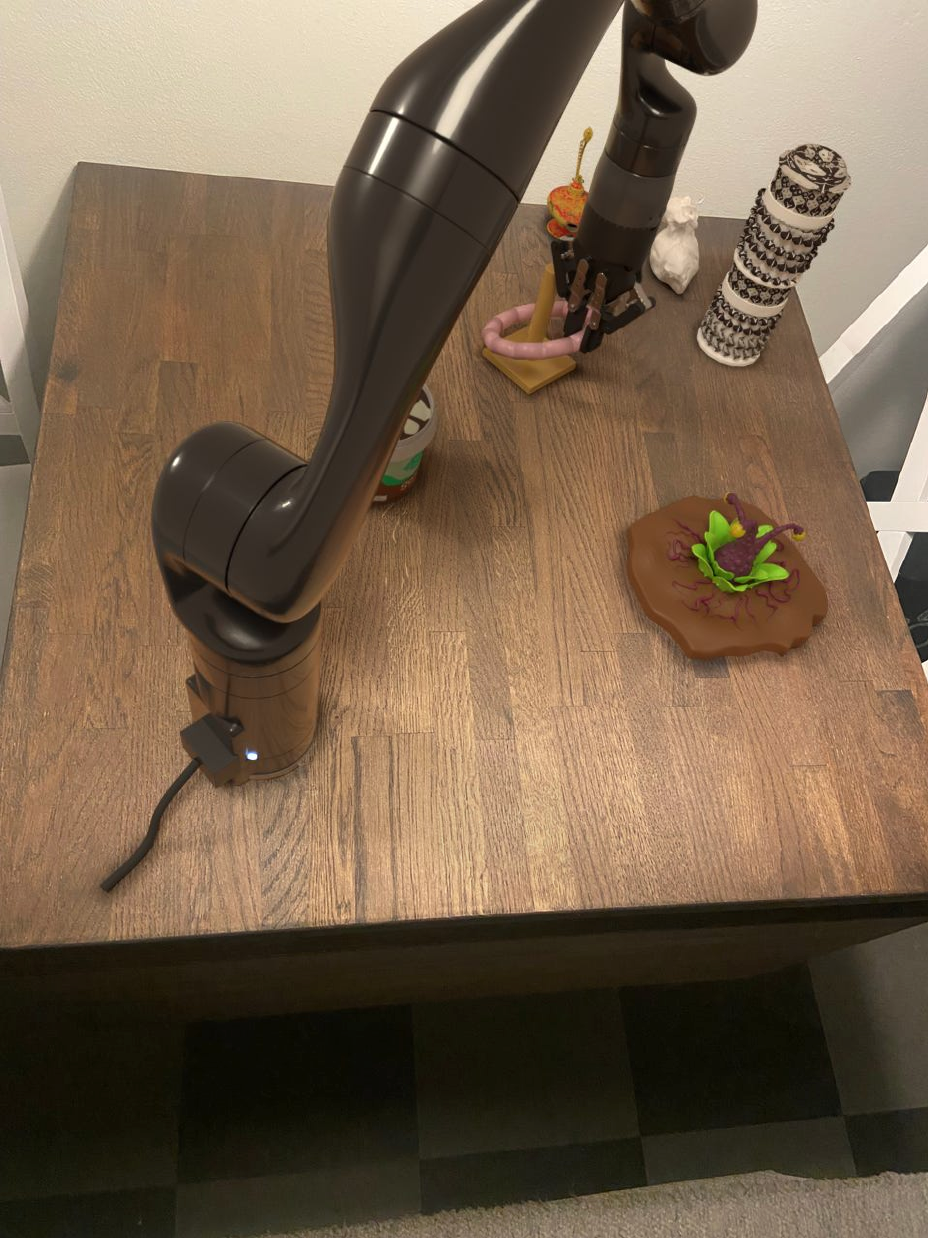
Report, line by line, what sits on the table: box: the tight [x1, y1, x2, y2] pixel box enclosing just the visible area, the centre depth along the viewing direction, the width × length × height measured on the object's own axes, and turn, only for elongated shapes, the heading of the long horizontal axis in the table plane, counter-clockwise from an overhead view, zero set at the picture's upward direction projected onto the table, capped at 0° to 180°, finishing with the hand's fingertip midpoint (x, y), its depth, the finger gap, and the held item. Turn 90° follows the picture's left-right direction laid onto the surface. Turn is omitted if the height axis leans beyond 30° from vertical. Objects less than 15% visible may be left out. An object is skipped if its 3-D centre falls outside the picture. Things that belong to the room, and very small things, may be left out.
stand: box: [481, 262, 577, 395], centre depth 104 cm, size 8×8×13 cm
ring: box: [480, 300, 593, 360], centre depth 105 cm, size 14×14×2 cm
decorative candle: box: [696, 143, 852, 367], centre depth 107 cm, size 9×9×25 cm
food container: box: [371, 383, 438, 506], centre depth 92 cm, size 12×6×10 cm, turn 168°
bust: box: [649, 195, 700, 295], centre depth 120 cm, size 12×8×11 cm
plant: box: [626, 491, 829, 661], centre depth 90 cm, size 20×20×11 cm
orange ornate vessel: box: [546, 126, 594, 239], centre depth 120 cm, size 7×18×11 cm, turn 172°
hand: (579, 343), depth 102 cm, fingers closed on ring, 2 cm apart
